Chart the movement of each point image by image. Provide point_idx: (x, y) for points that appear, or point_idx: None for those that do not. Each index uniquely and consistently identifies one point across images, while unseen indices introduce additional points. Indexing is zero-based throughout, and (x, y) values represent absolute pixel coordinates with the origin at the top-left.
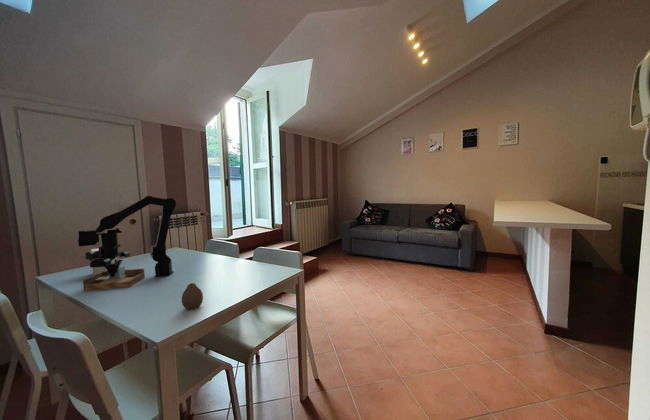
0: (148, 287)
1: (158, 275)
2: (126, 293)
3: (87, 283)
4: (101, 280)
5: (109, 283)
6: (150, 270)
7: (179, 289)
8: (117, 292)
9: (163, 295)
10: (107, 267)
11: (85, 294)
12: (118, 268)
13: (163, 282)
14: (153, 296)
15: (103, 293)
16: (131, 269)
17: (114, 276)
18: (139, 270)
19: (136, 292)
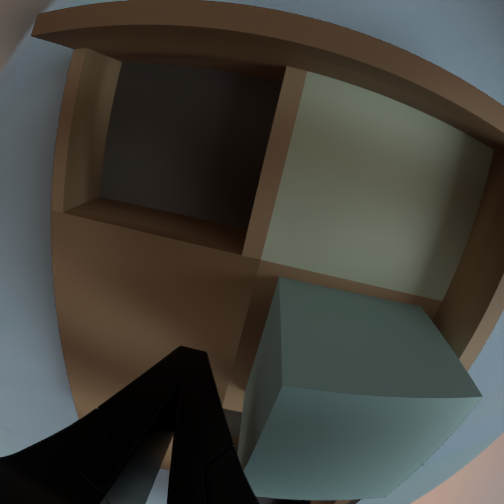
0: None
1: (284, 502)
2: (19, 390)
3: (117, 46)
4: (263, 171)
5: (62, 327)
6: (481, 426)
7: None
8: (24, 355)
9: None
10: (48, 477)
11: (10, 140)
12: (302, 484)
13: (157, 498)
14: (14, 443)
15: (8, 279)
16: None
17: (256, 360)
18: (324, 500)
19: (34, 420)
